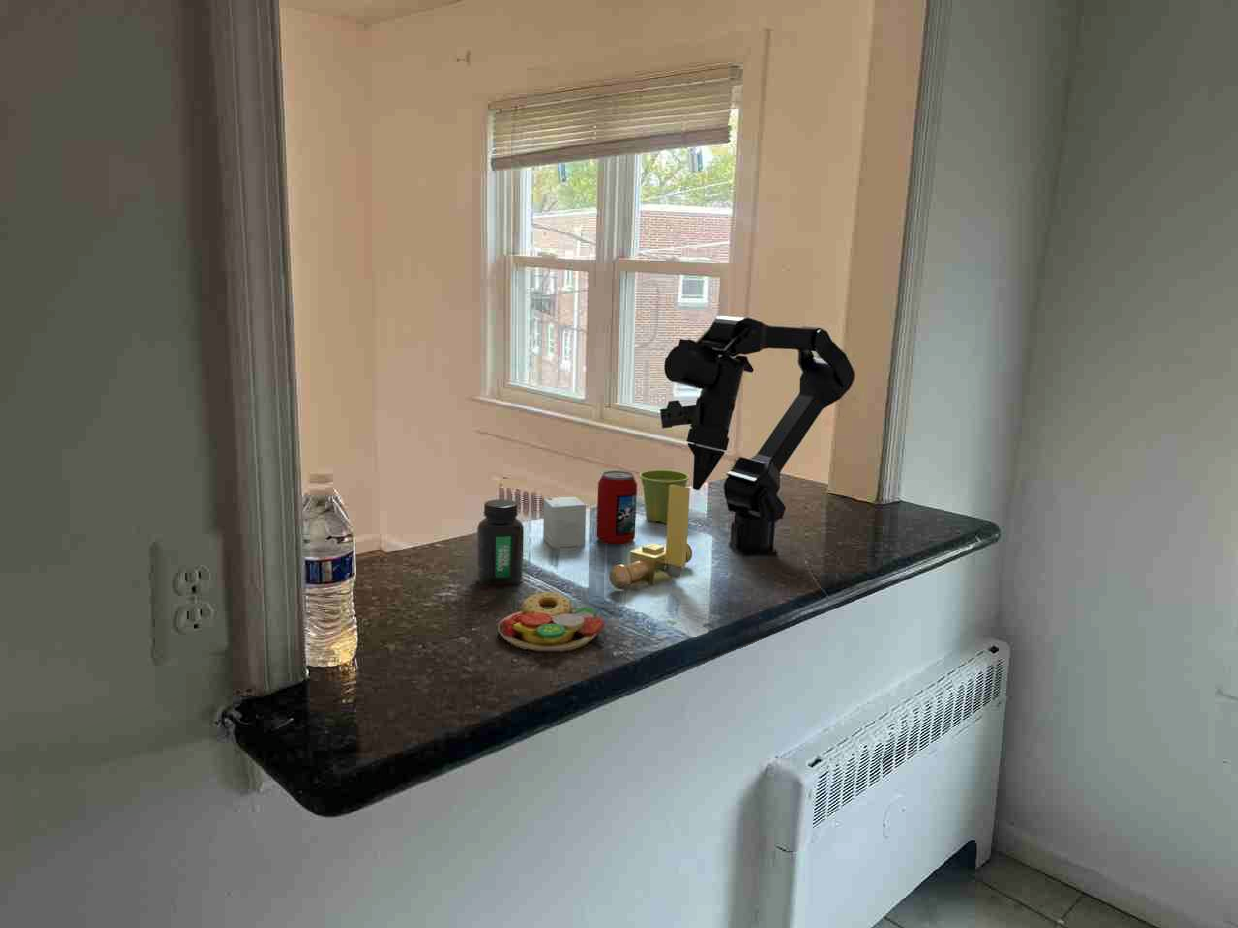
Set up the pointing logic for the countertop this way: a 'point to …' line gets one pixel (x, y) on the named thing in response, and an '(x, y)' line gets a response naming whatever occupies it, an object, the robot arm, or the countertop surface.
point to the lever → (677, 529)
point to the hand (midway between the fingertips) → (695, 489)
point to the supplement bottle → (500, 545)
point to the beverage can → (616, 507)
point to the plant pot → (660, 491)
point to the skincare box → (564, 522)
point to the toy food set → (550, 624)
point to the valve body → (644, 568)
